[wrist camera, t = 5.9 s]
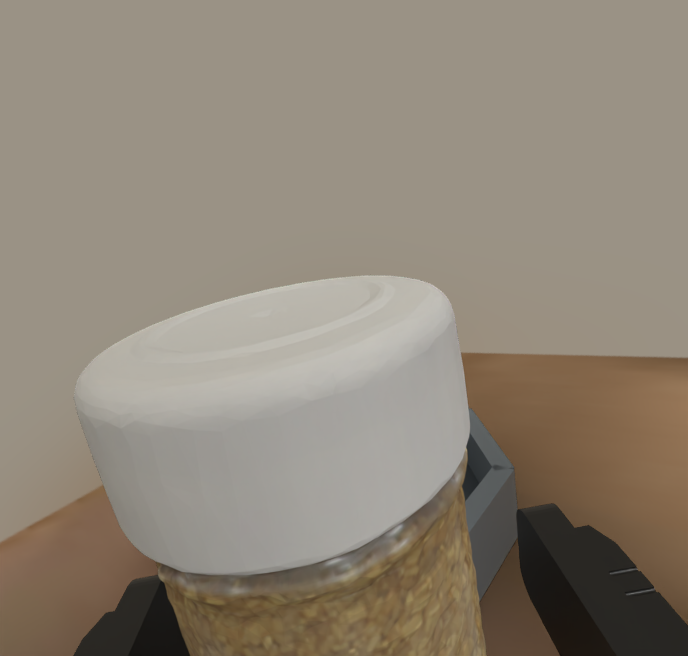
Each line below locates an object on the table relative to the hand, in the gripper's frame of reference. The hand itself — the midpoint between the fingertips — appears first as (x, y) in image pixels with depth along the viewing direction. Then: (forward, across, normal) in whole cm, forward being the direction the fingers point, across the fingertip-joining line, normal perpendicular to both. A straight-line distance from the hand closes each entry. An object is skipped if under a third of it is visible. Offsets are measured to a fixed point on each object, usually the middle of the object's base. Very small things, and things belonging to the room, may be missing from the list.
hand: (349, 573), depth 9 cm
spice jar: (-2, 0, +7) cm, 7 cm away
